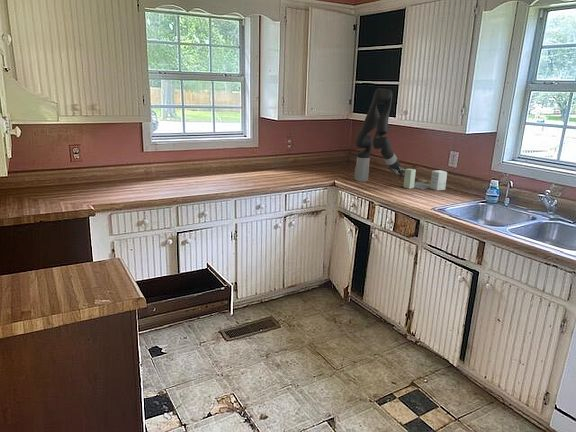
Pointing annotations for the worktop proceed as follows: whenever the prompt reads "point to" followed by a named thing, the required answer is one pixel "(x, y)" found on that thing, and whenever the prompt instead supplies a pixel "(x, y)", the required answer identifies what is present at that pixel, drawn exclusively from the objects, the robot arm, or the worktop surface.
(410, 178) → the block
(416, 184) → the mat
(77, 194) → the worktop surface
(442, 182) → the supplement box
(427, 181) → the rail
